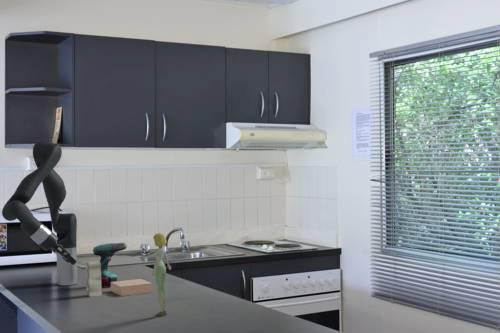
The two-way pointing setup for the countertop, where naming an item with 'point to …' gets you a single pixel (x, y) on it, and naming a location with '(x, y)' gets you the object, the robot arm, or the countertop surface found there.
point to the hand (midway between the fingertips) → (72, 262)
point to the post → (93, 279)
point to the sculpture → (160, 271)
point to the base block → (131, 287)
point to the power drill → (107, 260)
